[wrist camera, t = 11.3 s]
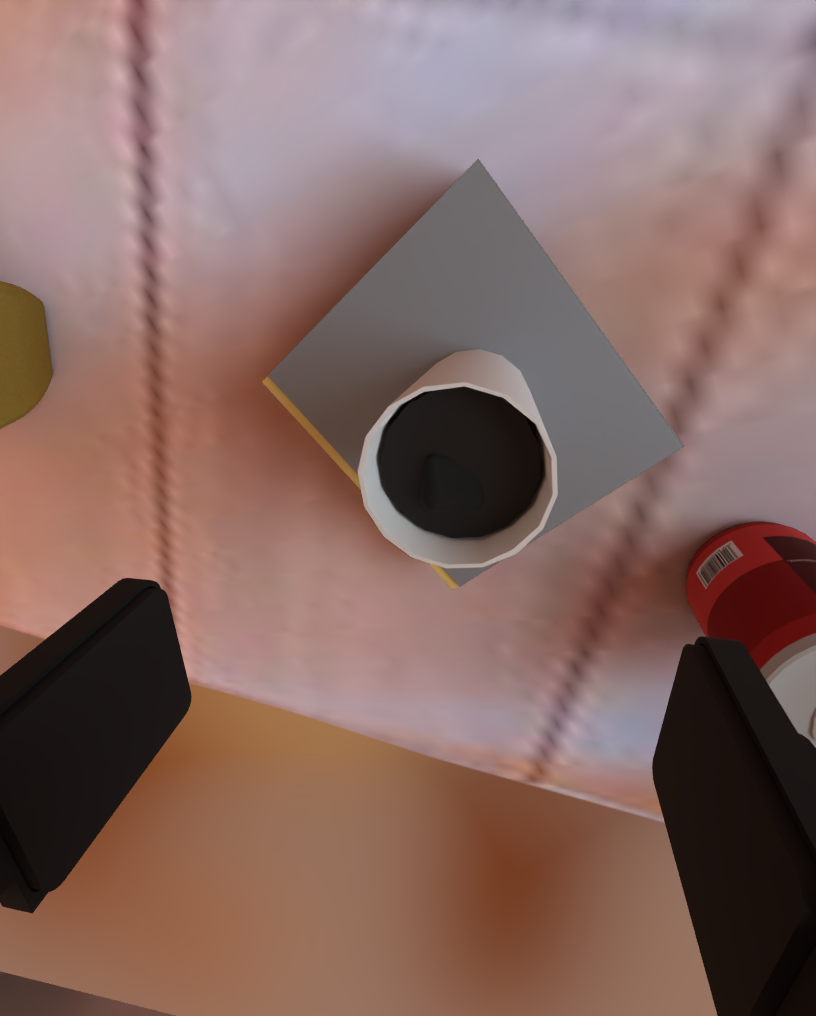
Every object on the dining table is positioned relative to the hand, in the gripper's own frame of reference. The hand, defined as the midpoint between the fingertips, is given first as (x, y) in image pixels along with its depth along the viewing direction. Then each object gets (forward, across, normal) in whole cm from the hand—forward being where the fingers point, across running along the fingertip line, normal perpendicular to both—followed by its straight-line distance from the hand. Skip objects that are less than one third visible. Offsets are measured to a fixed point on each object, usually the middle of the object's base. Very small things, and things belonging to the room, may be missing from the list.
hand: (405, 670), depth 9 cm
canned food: (+24, -17, +11) cm, 32 cm away
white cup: (+19, 0, 0) cm, 19 cm away
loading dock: (+24, 0, 0) cm, 24 cm away
